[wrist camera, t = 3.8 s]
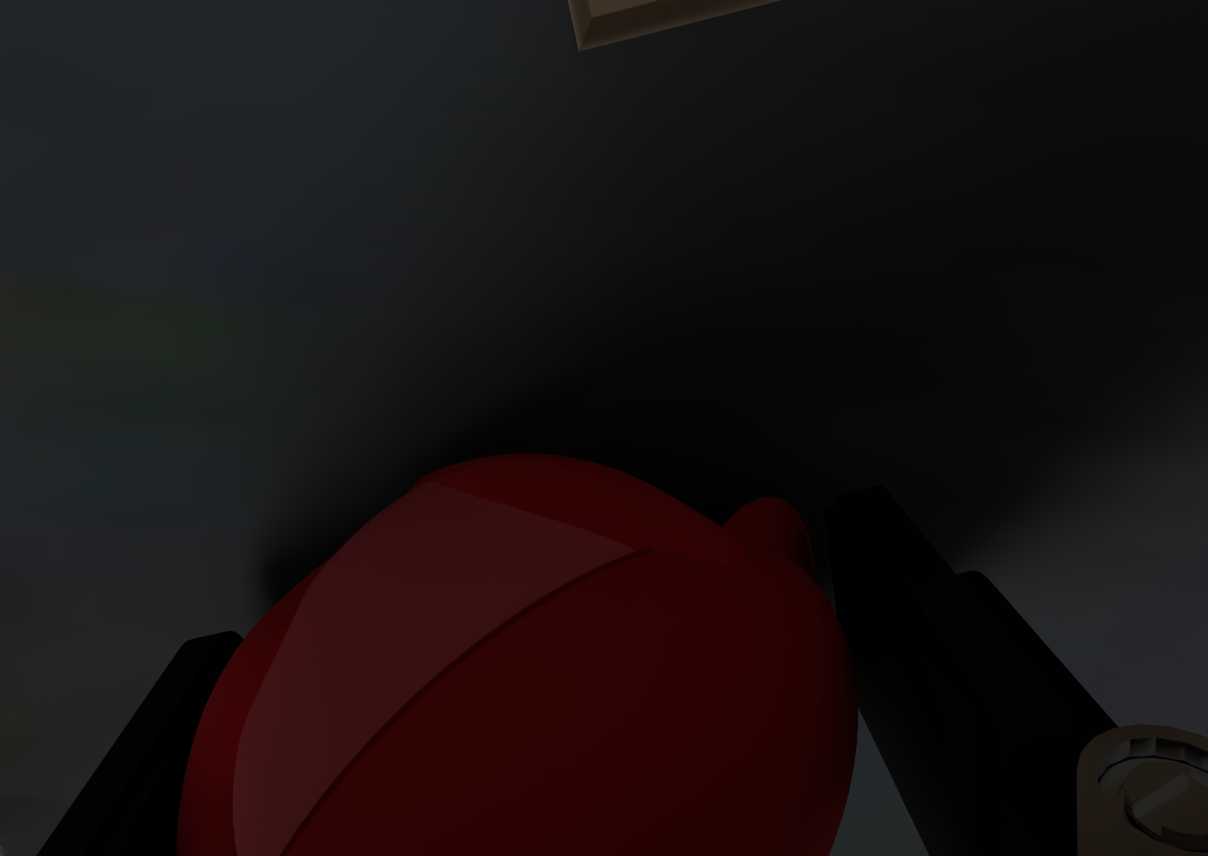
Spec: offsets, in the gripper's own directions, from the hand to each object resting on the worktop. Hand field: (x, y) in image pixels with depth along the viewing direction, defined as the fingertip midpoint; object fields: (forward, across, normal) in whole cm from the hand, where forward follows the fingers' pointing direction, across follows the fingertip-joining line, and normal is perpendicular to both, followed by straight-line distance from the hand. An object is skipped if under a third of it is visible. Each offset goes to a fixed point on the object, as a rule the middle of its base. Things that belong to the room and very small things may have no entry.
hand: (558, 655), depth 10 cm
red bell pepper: (+1, 0, 0) cm, 1 cm away
